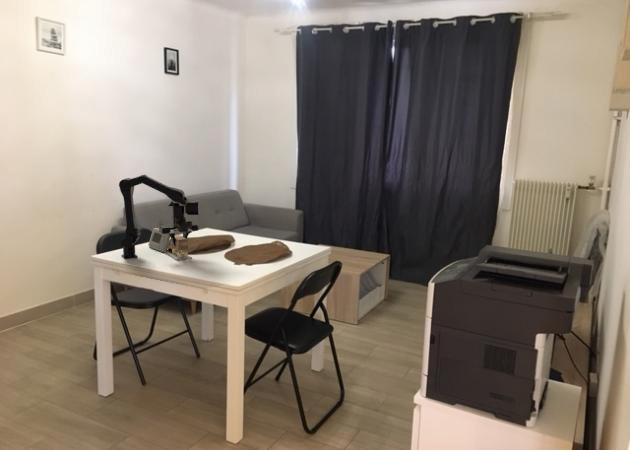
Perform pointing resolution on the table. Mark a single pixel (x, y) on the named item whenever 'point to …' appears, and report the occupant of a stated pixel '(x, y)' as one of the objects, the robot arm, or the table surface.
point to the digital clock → (159, 241)
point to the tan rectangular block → (180, 242)
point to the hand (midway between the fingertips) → (179, 245)
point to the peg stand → (179, 255)
